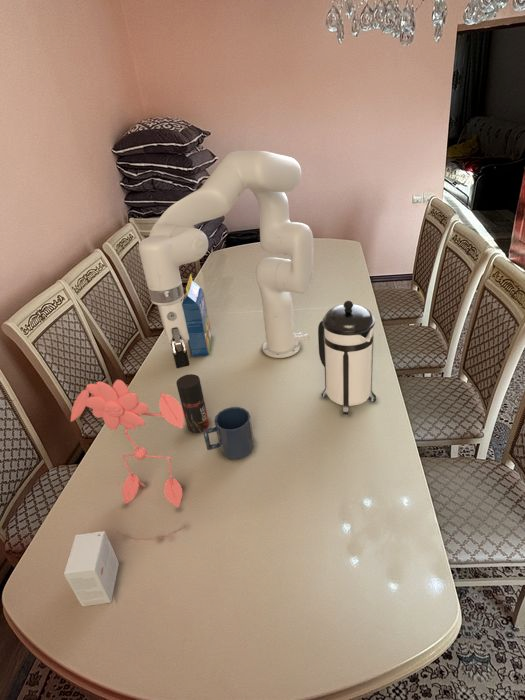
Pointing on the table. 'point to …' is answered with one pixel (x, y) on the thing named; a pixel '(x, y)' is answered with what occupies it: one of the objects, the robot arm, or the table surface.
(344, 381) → the coffee press
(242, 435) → the mug
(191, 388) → the deodorant
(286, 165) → the robot arm
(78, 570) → the small box
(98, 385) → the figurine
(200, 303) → the blue food package
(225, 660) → the table surface
